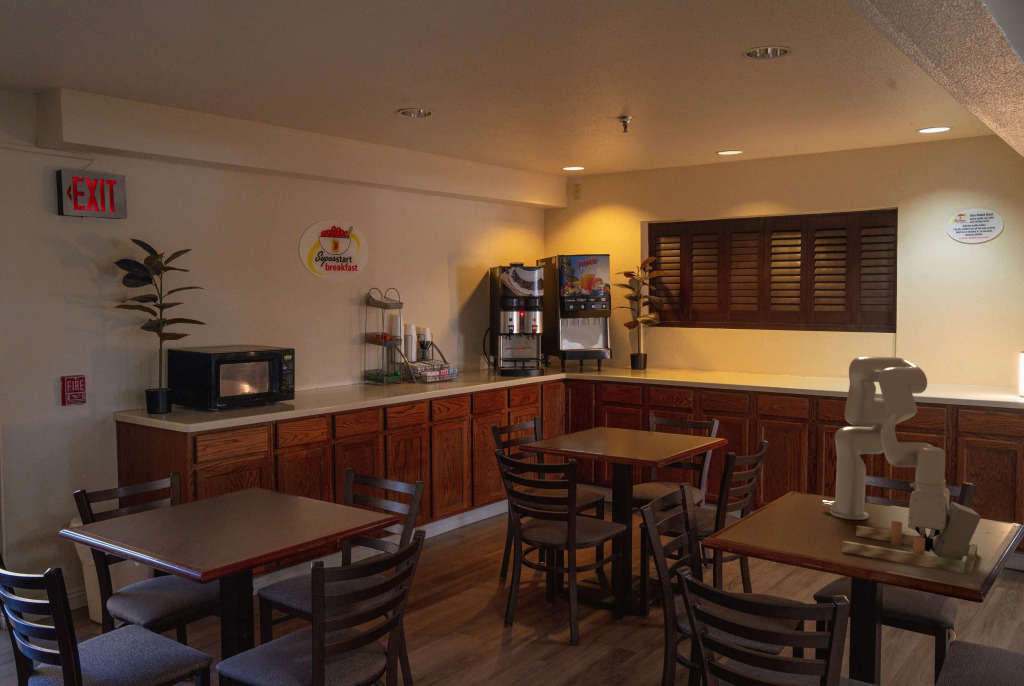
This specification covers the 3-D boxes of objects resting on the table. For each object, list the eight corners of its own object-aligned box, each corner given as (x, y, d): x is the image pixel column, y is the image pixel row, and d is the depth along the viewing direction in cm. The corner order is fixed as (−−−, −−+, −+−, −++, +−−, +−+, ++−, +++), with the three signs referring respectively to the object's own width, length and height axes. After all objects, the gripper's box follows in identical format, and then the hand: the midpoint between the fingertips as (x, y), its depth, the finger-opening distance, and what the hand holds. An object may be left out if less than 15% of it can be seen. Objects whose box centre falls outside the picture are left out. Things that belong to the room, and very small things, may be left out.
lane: (842, 551, 240) (842, 541, 240) (857, 534, 259) (857, 525, 259) (971, 574, 222) (971, 564, 222) (976, 554, 241) (977, 544, 241)
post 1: (889, 544, 249) (890, 522, 249) (891, 542, 252) (892, 520, 251) (900, 546, 247) (901, 523, 247) (901, 544, 250) (902, 521, 250)
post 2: (911, 561, 232) (913, 537, 232) (913, 559, 235) (914, 535, 234) (923, 563, 230) (924, 539, 230) (924, 561, 233) (925, 537, 233)
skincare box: (929, 549, 239) (947, 499, 238) (954, 558, 238) (972, 508, 236) (937, 557, 231) (956, 506, 229) (963, 566, 229) (982, 515, 228)
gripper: (899, 487, 238) (897, 548, 238) (956, 494, 229) (954, 558, 230) (903, 483, 244) (901, 543, 245) (959, 490, 236) (956, 552, 236)
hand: (926, 550), depth 237 cm, fingers closed
